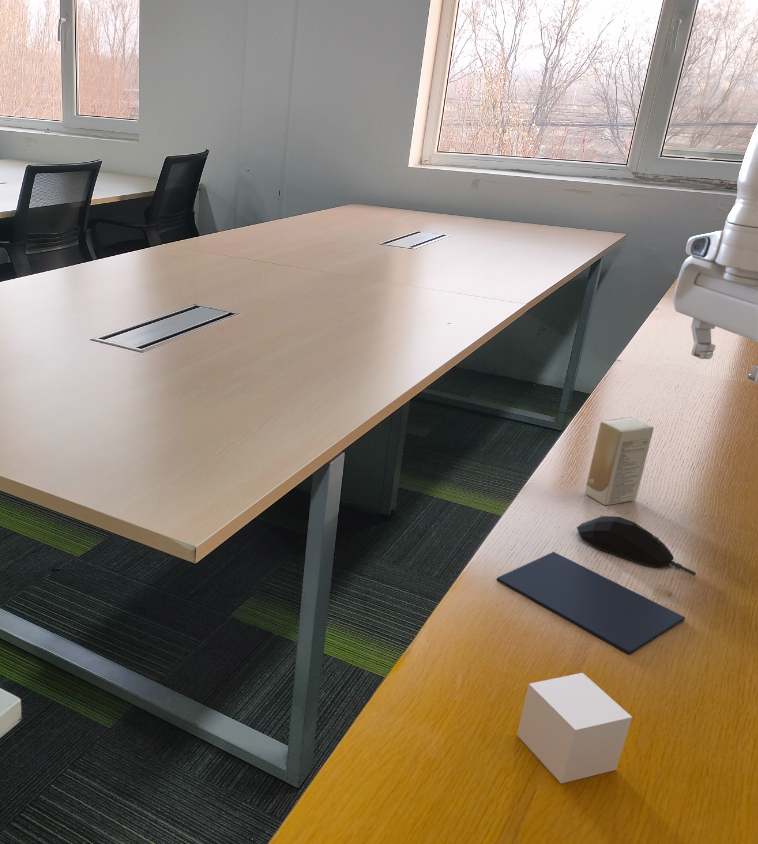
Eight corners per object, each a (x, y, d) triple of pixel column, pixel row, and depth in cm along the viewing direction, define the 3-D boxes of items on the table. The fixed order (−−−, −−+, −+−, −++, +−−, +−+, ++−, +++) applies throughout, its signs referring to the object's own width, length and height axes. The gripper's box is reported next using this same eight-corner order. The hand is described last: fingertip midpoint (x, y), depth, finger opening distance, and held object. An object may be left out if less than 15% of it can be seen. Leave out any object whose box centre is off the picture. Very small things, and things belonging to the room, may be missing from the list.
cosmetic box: (614, 488, 125) (633, 416, 121) (636, 501, 122) (656, 426, 117) (581, 493, 123) (599, 419, 119) (603, 506, 120) (622, 430, 115)
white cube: (516, 735, 75) (528, 683, 73) (569, 723, 77) (582, 672, 75) (561, 784, 70) (575, 729, 68) (616, 770, 71) (632, 716, 69)
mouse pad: (684, 620, 93) (685, 617, 93) (629, 654, 87) (630, 651, 87) (552, 554, 106) (553, 551, 106) (496, 580, 100) (496, 577, 100)
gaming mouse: (687, 584, 100) (696, 556, 99) (568, 539, 110) (575, 513, 108) (702, 566, 104) (710, 539, 103) (586, 524, 114) (592, 499, 113)
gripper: (871, 271, 81) (825, 400, 86) (725, 238, 99) (694, 345, 105) (815, 270, 80) (772, 400, 85) (678, 236, 99) (650, 344, 104)
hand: (728, 369), depth 95 cm, fingers open, 8 cm apart
